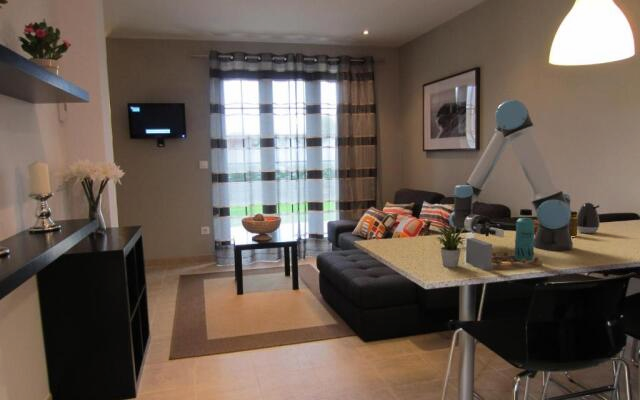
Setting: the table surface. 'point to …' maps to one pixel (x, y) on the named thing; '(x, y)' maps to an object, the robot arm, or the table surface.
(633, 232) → the table surface
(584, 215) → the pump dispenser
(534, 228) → the hamburger
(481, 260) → the end block
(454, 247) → the house plant
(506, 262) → the band marker
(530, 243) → the beverage bottle
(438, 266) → the table surface
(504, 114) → the robot arm
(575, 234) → the condiment
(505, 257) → the wooden peg rack
